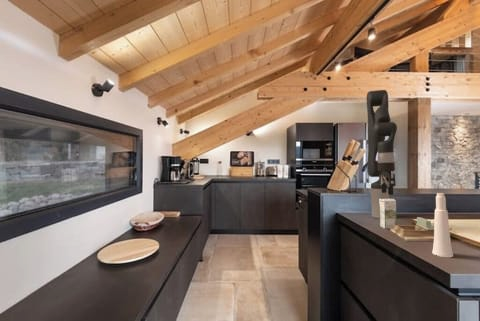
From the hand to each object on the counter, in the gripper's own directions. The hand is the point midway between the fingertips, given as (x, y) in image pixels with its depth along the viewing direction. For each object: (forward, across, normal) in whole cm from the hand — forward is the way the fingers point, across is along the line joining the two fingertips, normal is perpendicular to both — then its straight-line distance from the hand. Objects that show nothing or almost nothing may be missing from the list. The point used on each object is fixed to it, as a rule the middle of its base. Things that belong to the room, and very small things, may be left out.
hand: (387, 193), depth 132 cm
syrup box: (+17, 0, 0) cm, 17 cm away
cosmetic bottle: (+18, -38, -4) cm, 42 cm away
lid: (+13, -14, -13) cm, 24 cm away
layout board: (+17, -13, -7) cm, 23 cm away
